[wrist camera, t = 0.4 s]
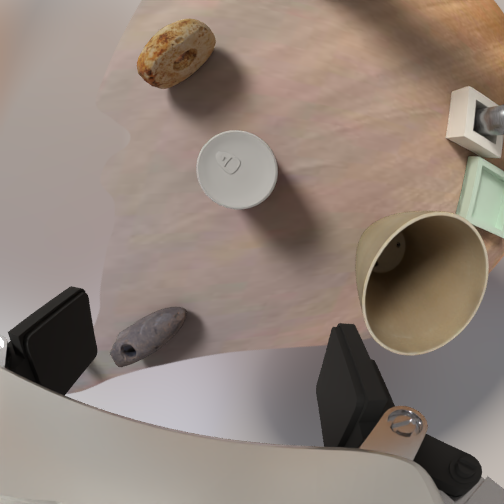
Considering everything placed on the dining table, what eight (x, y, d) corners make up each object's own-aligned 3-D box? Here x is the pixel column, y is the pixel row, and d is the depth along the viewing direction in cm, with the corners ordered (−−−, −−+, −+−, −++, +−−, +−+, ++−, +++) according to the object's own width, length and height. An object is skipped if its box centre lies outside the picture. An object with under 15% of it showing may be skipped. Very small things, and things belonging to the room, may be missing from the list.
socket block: (451, 91, 32) (469, 85, 27) (487, 113, 32) (505, 110, 27) (445, 137, 34) (464, 136, 29) (481, 157, 34) (500, 158, 29)
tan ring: (169, 99, 36) (139, 82, 26) (153, 84, 35) (121, 64, 25) (225, 50, 33) (212, 18, 24) (208, 35, 33) (191, 2, 23)
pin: (459, 107, 32) (513, 96, 20) (478, 118, 32) (531, 111, 20) (456, 131, 34) (511, 125, 21) (475, 141, 34) (530, 140, 21)
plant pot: (405, 177, 36) (472, 187, 21) (434, 267, 40) (493, 312, 24) (313, 222, 39) (338, 257, 24) (352, 311, 42) (384, 377, 27)
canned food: (228, 131, 37) (212, 118, 26) (285, 154, 37) (291, 148, 26) (207, 185, 39) (183, 191, 28) (263, 207, 39) (259, 222, 29)
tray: (468, 156, 34) (479, 156, 32) (506, 178, 34) (517, 180, 32) (454, 217, 37) (465, 221, 34) (493, 234, 37) (503, 238, 34)
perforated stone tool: (180, 290, 43) (166, 311, 37) (201, 317, 44) (190, 342, 38) (117, 329, 46) (98, 350, 40) (135, 352, 47) (120, 375, 41)
